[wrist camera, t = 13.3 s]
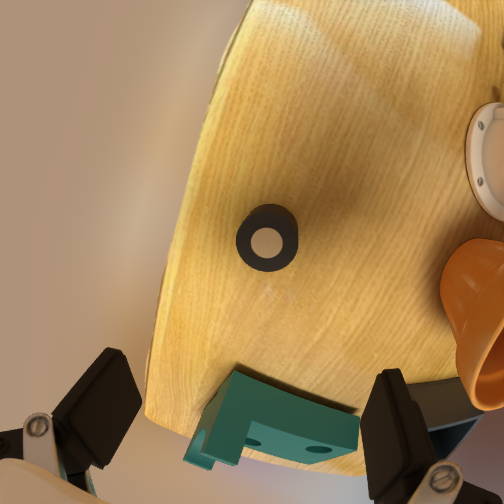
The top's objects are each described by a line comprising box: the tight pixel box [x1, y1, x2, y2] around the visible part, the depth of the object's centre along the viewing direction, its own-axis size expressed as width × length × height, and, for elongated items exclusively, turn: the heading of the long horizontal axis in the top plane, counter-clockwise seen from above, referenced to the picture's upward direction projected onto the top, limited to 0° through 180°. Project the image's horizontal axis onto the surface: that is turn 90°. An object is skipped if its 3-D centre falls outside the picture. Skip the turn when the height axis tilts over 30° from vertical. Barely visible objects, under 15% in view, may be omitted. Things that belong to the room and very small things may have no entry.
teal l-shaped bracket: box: [183, 370, 360, 470], centre depth 28 cm, size 18×11×10 cm, turn 64°
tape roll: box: [236, 204, 298, 272], centre depth 23 cm, size 5×5×4 cm
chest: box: [406, 377, 485, 462], centre depth 26 cm, size 12×11×8 cm
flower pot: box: [440, 238, 504, 411], centre depth 17 cm, size 14×14×13 cm
